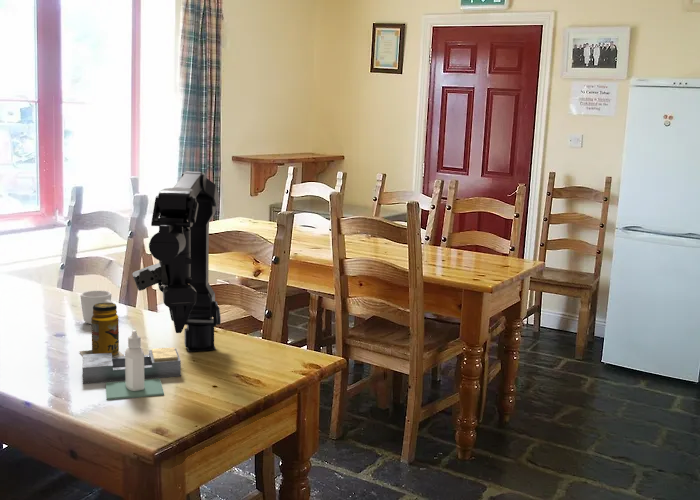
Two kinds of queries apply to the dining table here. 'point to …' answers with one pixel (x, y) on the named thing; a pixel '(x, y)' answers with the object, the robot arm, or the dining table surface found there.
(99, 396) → the dining table surface
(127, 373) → the eye dropper bottle
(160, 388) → the mat
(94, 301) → the cup
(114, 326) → the condiment
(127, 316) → the dining table surface
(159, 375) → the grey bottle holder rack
